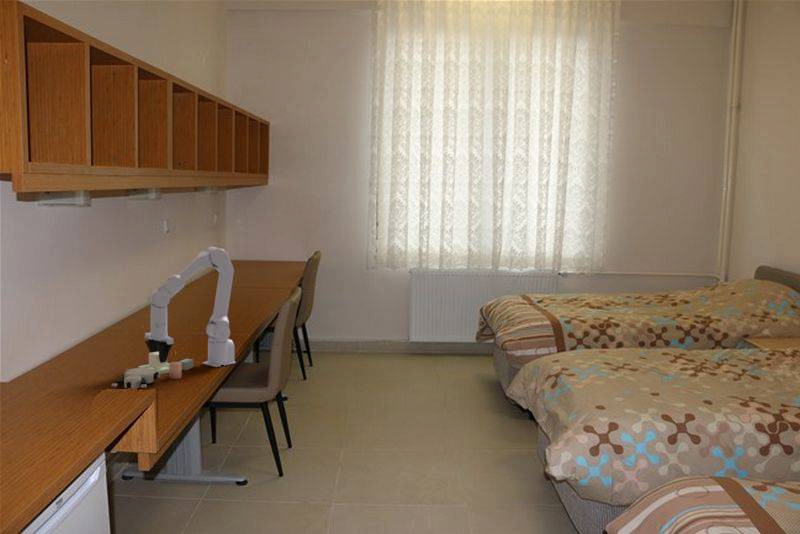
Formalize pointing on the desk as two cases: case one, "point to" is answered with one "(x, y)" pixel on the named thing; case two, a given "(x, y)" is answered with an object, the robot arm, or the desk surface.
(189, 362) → the slate block
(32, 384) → the desk surface
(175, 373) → the pink rounded capsule
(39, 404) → the desk surface
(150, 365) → the cream block
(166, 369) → the tray
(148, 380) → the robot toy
